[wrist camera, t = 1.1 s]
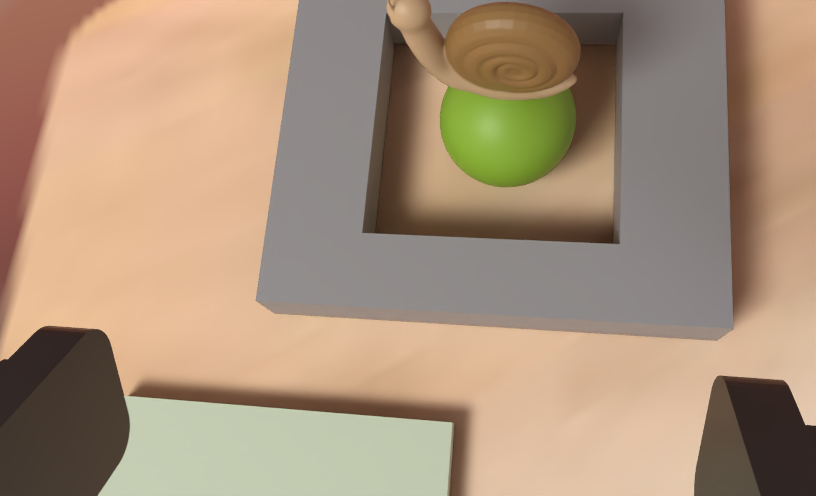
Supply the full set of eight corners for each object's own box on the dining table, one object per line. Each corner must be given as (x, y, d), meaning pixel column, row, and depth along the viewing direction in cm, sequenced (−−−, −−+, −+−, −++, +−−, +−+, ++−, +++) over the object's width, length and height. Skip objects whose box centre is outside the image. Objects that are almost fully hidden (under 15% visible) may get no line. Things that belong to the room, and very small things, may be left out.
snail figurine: (432, 85, 35) (391, -103, 24) (576, 95, 34) (605, -98, 23) (416, 197, 34) (362, 54, 22) (565, 211, 33) (589, 68, 21)
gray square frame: (709, -15, 35) (723, -51, 32) (716, 340, 30) (733, 328, 28) (319, -12, 38) (305, -45, 35) (274, 313, 33) (255, 300, 31)
